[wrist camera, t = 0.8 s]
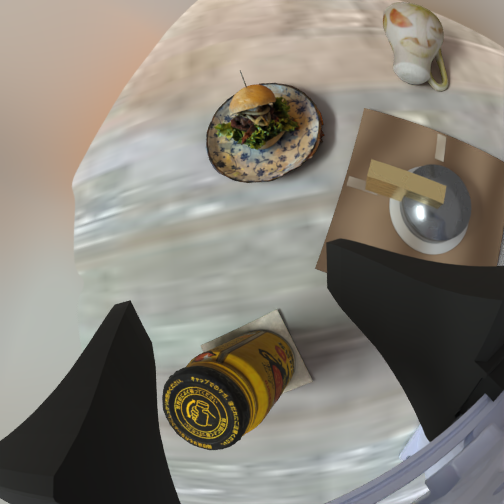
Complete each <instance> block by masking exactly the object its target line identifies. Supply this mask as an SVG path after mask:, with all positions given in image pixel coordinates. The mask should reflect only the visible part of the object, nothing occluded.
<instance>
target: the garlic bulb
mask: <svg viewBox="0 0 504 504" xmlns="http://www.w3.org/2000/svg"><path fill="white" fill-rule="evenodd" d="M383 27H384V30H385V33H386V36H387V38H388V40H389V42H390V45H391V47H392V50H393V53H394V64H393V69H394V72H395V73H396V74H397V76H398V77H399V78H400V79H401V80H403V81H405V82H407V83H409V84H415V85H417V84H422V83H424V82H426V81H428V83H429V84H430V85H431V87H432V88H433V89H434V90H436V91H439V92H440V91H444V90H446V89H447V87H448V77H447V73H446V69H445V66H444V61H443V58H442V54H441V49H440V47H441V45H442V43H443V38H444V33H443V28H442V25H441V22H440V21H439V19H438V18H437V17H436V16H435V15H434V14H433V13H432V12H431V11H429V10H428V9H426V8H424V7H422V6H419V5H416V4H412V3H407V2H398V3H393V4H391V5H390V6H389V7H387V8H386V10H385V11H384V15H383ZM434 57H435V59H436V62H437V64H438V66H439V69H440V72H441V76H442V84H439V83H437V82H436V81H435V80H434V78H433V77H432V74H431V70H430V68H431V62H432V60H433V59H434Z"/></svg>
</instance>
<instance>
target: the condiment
mask: <svg viewBox="0 0 504 504" xmlns="http://www.w3.org/2000/svg"><path fill="white" fill-rule="evenodd" d="M201 348H202V349H203V353H202V354H199V355H198V356H196V357H195V358H194V359H192V360H191V361H190V362H189V364H188V365H187V366H186V367H185V368H182V369H180V370H179V371H176V372H175V373H174V375H171V376H170V377H169V379H168V380H167V382H166V384H165V385H164V389H163V397H162V400H163V411H164V413H165V415H166V418H167V420H168V421H169V424H170V425H171V427H172V428H173V429H174V430H175V432H176V433H177V434H178V435H179V436H180V437H182V438H183V439H184V440H186V441H187V442H189V443H190V444H192V445H194V446H197V447H200V448H204V449H207V450H218V449H224V448H227V447H230V446H232V445H234V444H235V443H236V442H237V441H238V440H241V437H242V436H243V435H245V434H246V433H248V432H250V431H251V430H253V429H254V428H256V427H257V426H258V425H259V424H260V423H261V422H262V421H263V419H264V418H265V417H266V415H267V414H268V413H269V411H270V409H271V408H272V407H273V405H274V404H275V403H276V402H277V400H278V399H279V397H280V396H281V394H282V393H285V392H287V391H290V390H293V389H295V388H298V387H300V386H303V385H305V384H308V383H310V382H313V381H312V378H311V376H310V374H309V372H308V370H307V368H306V366H305V364H304V362H303V360H302V358H301V356H300V354H299V352H298V350H297V348H296V346H295V344H294V342H293V340H292V338H291V336H290V334H289V332H288V330H287V328H286V326H285V325H284V322H283V320H282V318H281V316H280V314H279V312H278V310H275V311H273V312H271V313H269V314H267V315H265V316H263V317H261V318H259V319H257V320H254V321H252V322H250V323H248V324H246V325H244V326H242V327H240V328H238V329H236V330H234V331H231V332H229V333H227V334H225V335H223V336H221V337H219V338H216V339H214V340H212V341H210V342H207V343H205V344H203V345H201Z"/></svg>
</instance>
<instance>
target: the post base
mask: <svg viewBox="0 0 504 504" xmlns="http://www.w3.org/2000/svg"><path fill="white" fill-rule="evenodd" d="M371 159H372V160H376V161H379V162H382V163H385V164H388V165H391V166H394V167H397V168H400V169H403V170H406V171H408V172H411V173H413V172H414V171H415V170H416V169H418V168H419V167H422V166H424V165H430V164H435V165H441V166H444V167H446V168H448V169H450V170H451V171H453V172H454V173H455V174H457V175H458V176H459V177H460V179H461V180H462V181H463V183H464V184H465V186H466V188H467V190H468V192H469V195H470V199H471V216H470V220H469V223H468V225H467V226H466V228H465V229H464V231H463V232H462V233H461V234H459V235H458V236H456V237H454V238H452V239H450V240H448V241H446V242H443V243H439V244H431V243H427V242H424V241H422V240H420V239H418V238H417V237H415V236H414V235H413V234H412V233H411V232H410V231H409V229H408V228H407V227H406V225H405V223H404V221H403V219H402V216H401V212H400V201H397V200H394V199H391V198H389V197H386V196H383V195H380V194H377V193H374V192H371V191H368V190H365V187H366V180H367V174H368V171H369V167H370V163H371ZM503 227H504V162H503V161H501V160H499V159H497V158H495V157H493V156H491V155H490V154H488V153H486V152H483V151H481V150H479V149H477V148H475V147H473V146H471V145H469V144H466V143H464V142H462V141H460V140H457V139H455V138H453V137H450V136H448V135H445V134H443V133H440V132H438V131H435V130H432V129H430V128H427V127H424V126H422V125H419V124H416V123H413V122H410V121H407V120H404V119H401V118H397V117H394V116H391V115H388V114H384V113H381V112H377V111H373V110H370V109H366V108H364V112H363V116H362V120H361V123H360V127H359V131H358V135H357V139H356V142H355V146H354V149H353V153H352V157H351V160H350V164H349V167H348V170H347V174H346V177H345V180H344V184H343V187H342V190H341V194H340V197H339V200H338V203H337V206H336V209H335V212H334V215H333V218H332V222H331V225H330V227H329V230H328V233H327V236H326V239H325V242H324V245H323V248H322V251H321V254H320V256H319V259H318V262H317V265H316V268H315V269H318V270H320V271H323V272H326V273H327V253H326V242H329V241H333V240H336V239H339V238H342V239H347V240H352V241H356V242H360V243H363V244H367V245H370V246H374V247H377V248H381V249H384V250H388V251H391V252H395V253H399V254H402V255H406V256H411V257H415V258H419V259H424V260H429V261H434V262H440V263H447V264H455V265H466V266H497V262H498V257H499V252H500V246H501V240H502V234H503Z"/></svg>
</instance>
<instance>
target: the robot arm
mask: <svg viewBox="0 0 504 504" xmlns="http://www.w3.org/2000/svg"><path fill="white" fill-rule="evenodd" d="M326 253H327V288H328V289H329V291H330V293H331V294H332V296H333V297H334V299H335V300H336V302H337V303H338V305H339V306H340V307H341V309H342V310H343V311H344V312H345V313H346V314H347V315H348V317H349V318H350V319H351V320H352V321H353V322H354V323H355V324H356V326H357V327H358V328H359V329H360V330H361V331H362V332H363V333H364V335H365V336H366V337H367V338H368V339H369V340H370V341H371V342H372V344H373V345H374V346H375V347H376V348H377V350H378V351H379V352H380V353H381V355H382V356H383V358H384V359H385V361H386V362H387V364H388V365H389V367H390V368H391V370H392V371H393V373H394V375H395V376H396V378H397V380H398V381H399V383H400V385H401V386H402V388H403V390H404V391H405V393H406V395H407V397H408V399H409V401H410V403H411V405H412V407H413V408H414V411H415V413H416V415H417V417H418V419H419V422H420V425H419V426H418V428H417V430H416V431H415V433H414V434H413V436H412V437H411V439H410V440H409V442H408V443H407V445H406V446H405V448H404V449H403V450H402V452H401V453H400V455H399V458H400V460H403V462H402V463H400V464H399V465H397V466H396V467H394V468H392V469H391V470H389V471H387V472H386V473H384V474H382V475H381V476H379V477H377V478H376V479H374V480H372V481H370V482H368V483H367V484H365V485H363V486H361V487H359V488H357V489H355V490H353V491H351V492H349V493H347V494H345V495H343V496H341V497H339V498H336V499H334V500H332V501H330V502H327V503H325V504H376V503H377V502H379V501H381V500H383V499H384V498H386V497H388V496H389V495H391V494H393V493H394V492H396V491H397V490H399V489H401V488H402V487H404V486H405V485H407V484H408V483H410V482H411V481H413V480H414V479H415V478H417V477H418V476H420V475H421V474H422V473H425V476H426V480H425V484H426V485H427V487H428V488H429V490H430V491H428V492H427V493H425V494H424V495H423V496H421V497H420V498H418V499H417V500H415V501H414V502H412V503H411V504H504V266H466V265H455V264H447V263H440V262H434V261H429V260H424V259H419V258H415V257H411V256H406V255H402V254H399V253H395V252H391V251H388V250H384V249H381V248H377V247H374V246H370V245H367V244H363V243H360V242H356V241H352V240H347V239H342V238H339V239H336V240H333V241H329V242H326ZM407 456H410V457H408V458H406V457H407ZM0 498H1V499H3V500H4V501H6V502H8V503H10V504H181V503H180V501H179V498H178V495H177V493H176V490H175V487H174V484H173V481H172V478H171V475H170V471H169V468H168V464H167V461H166V457H165V453H164V449H163V444H162V440H161V435H160V430H159V422H158V409H157V389H156V366H155V359H154V353H153V346H152V342H151V340H150V338H149V336H148V334H147V332H146V331H145V329H144V327H143V325H142V323H141V321H140V319H139V317H138V315H137V313H136V311H135V309H134V307H133V305H132V303H131V300H130V301H126V302H123V303H119V304H116V305H114V307H113V308H112V309H111V310H110V312H109V313H108V315H107V316H106V318H105V319H104V321H103V322H102V324H101V325H100V327H99V328H98V330H97V332H96V333H95V335H94V336H93V338H92V339H91V341H90V342H89V344H88V345H87V347H86V348H85V350H84V351H83V353H82V354H81V356H80V357H79V358H78V360H77V361H76V363H75V364H74V366H73V367H72V368H71V370H70V371H69V373H68V374H67V375H66V376H65V378H64V379H63V380H62V381H61V383H60V384H59V385H58V386H57V388H56V389H55V390H54V391H53V392H52V393H51V395H50V396H49V397H48V398H47V399H46V400H45V401H44V402H43V403H42V404H41V405H40V406H39V407H38V409H37V410H36V411H35V412H34V413H33V414H32V415H30V417H28V418H27V419H26V420H25V421H24V422H23V423H22V424H21V425H20V426H18V427H17V428H16V429H15V430H14V431H13V432H11V433H10V434H9V435H8V436H6V437H5V438H4V439H2V440H1V441H0Z"/></svg>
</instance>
